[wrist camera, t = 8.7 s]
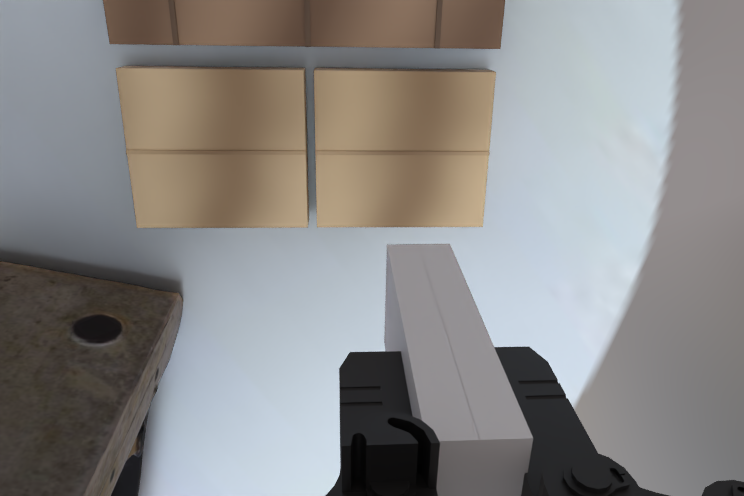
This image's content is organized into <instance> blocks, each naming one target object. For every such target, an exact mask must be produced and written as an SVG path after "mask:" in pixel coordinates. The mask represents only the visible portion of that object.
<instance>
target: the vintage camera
mask: <svg viewBox="0 0 744 496" xmlns="http://www.w3.org/2000/svg"><path fill="white" fill-rule="evenodd" d="M182 305H183V299H182V298H181V296H180V295H179V293H175V292H168V291H161V290H154V289H150V288H146V287H142V286H138V285H132V284H126V283H121V282H115V281H109V280H103V279H97V278H92V277H86V276H81V275H76V274H70V273H64V272H58V271H52V270H47V269H42V268H37V267H32V266H26V265H21V264H15V263H9V262H2V261H0V496H138V492H139V485H140V477H141V465H142V453H143V445H144V438H145V431H146V424H147V417H148V411H149V407H150V404H151V400H152V398H153V397H154V395H155V393H156V391H157V387H158V383H159V381H160V379H161V377H162V375H163V373H164V370H165V368H166V366H167V364H168V362H169V360H170V356H171V353H172V350H173V346H174V343H175V339H176V336H177V333H178V329H179V325H180V320H181V315H182Z"/></svg>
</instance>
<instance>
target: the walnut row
mask: <svg viewBox="0 0 744 496" xmlns="http://www.w3.org/2000/svg"><path fill="white" fill-rule="evenodd" d="M103 3H104V10H105V16H106V23H107V29H108V36H109V42H110V44H150V45H230V46H305V47H392V48H472V49H500V47H501V36H502V26H503V16H504V6H505V0H103Z"/></svg>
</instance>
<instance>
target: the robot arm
mask: <svg viewBox="0 0 744 496" xmlns="http://www.w3.org/2000/svg"><path fill="white" fill-rule="evenodd" d="M384 343H385V350H386V352H350V353H349V354H348V356H347V358H346V359H345V361H344V362H343V364H342V365H341V367H340V369H339V373H340V458H341V469H340V475H339V478H338V480H337V482H336V484H335V486H334V487H333V488H332V489H331V490H330V491H329V493H328V494H327V495H326V496H668V495H664V494H659V493H655V492H652V491H649V490H646V489H642V488H640V487H639V486H638V485H637V483H636V481H635V480H634V479H633V478H632V477H631V475H630V474H629V473H628V472H627V471H626V469H625V468H624V467H622V466H620V465H619V464H618V463H616V462H615V461H613V460H612V459H610V458H609V457H606V456H603V455H601V454H598V453H597V451H596V449H595V447H594V445H593V443H592V442H591V440H590V438H589V436H588V434H587V433H586V431H585V429H584V427H583V426H582V424H581V422H580V420H579V418H578V416H577V414H576V413H575V411H574V409H573V407H572V405H571V403H570V402H569V400H568V399H566V394H565V393H564V391H563V389H562V387H561V385H560V383H558V382H557V378H556V376H555V374H554V373H553V371H552V369H551V367H550V365H549V363H548V362H547V361H546V360H545V359H543V358H542V357H541V356H540V355H538V354H537V353H536V352H535V351H534V350H532V349H531V348H530V347H494V346H493V343H492V341H491V339H490V336H489V334H488V332H487V329H486V327H485V325H484V322H483V320H482V318H481V315H480V313H479V311H478V308H477V306H476V304H475V301H474V299H473V297H472V294H471V292H470V290H469V287H468V285H467V283H466V280H465V278H464V276H463V273H462V271H461V269H460V266H459V264H458V262H457V260H456V257H455V255H454V253H453V250H452V248H451V246H450V244H397V245H387V264H386V301H385V337H384ZM702 496H744V482H740V481H736V480H729V481H716V482H714V483H713V484H711V485H709V486H707V487H706V488H705V489H704V492H703V494H702Z"/></svg>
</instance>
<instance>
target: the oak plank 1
mask: <svg viewBox="0 0 744 496" xmlns="http://www.w3.org/2000/svg"><path fill="white" fill-rule="evenodd" d="M116 75H117V82H118V90H119V97H120V105H121V112H122V120H123V127H124V135H125V142H126V154H127V157H128V165H129V172H130V180H131V187H132V195H133V202H134V210H135V217H136V225H137V228H274V227H308V222H309V198H308V158H307V117H306V77H305V68H290V67H196V66H123V67H118V68H116Z"/></svg>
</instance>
